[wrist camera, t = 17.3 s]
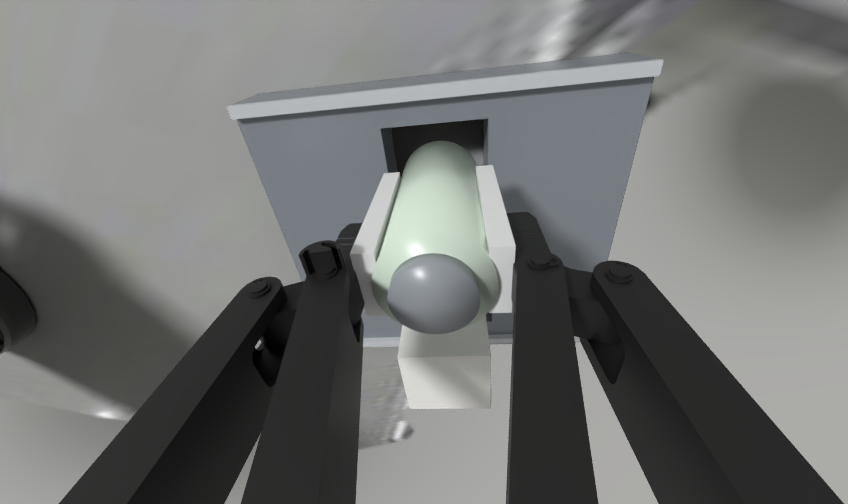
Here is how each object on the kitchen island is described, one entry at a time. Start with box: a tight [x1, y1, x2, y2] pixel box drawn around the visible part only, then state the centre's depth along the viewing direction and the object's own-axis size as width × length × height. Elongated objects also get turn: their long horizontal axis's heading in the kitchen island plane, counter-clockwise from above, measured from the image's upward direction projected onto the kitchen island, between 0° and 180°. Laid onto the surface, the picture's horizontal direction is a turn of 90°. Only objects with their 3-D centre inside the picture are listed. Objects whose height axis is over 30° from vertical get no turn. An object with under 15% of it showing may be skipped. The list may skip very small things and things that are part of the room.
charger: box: [398, 315, 491, 409], centre depth 21 cm, size 5×5×10 cm
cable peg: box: [372, 141, 499, 334], centre depth 14 cm, size 4×4×10 cm
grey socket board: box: [227, 53, 664, 347], centre depth 22 cm, size 20×18×3 cm
